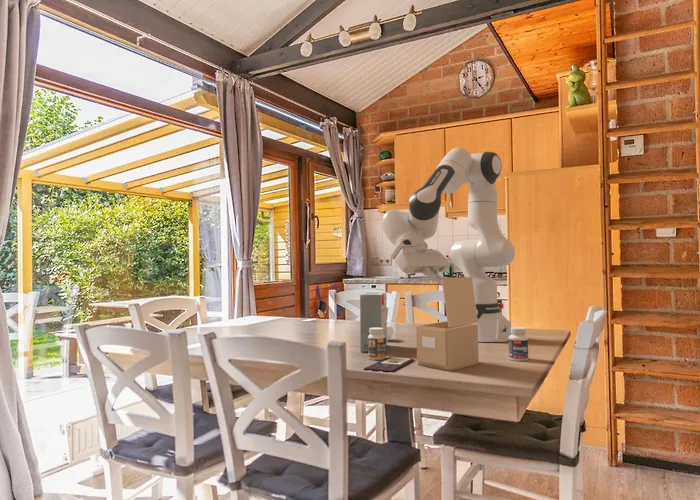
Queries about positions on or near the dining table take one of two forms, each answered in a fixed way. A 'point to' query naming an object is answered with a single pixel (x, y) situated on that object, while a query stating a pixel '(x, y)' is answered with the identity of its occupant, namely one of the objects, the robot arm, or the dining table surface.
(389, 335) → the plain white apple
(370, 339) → the pill bottle
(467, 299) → the flap
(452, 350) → the carton
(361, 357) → the dining table surface
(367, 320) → the hard drive box
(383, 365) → the chocolate bar
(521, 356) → the pill bottle
